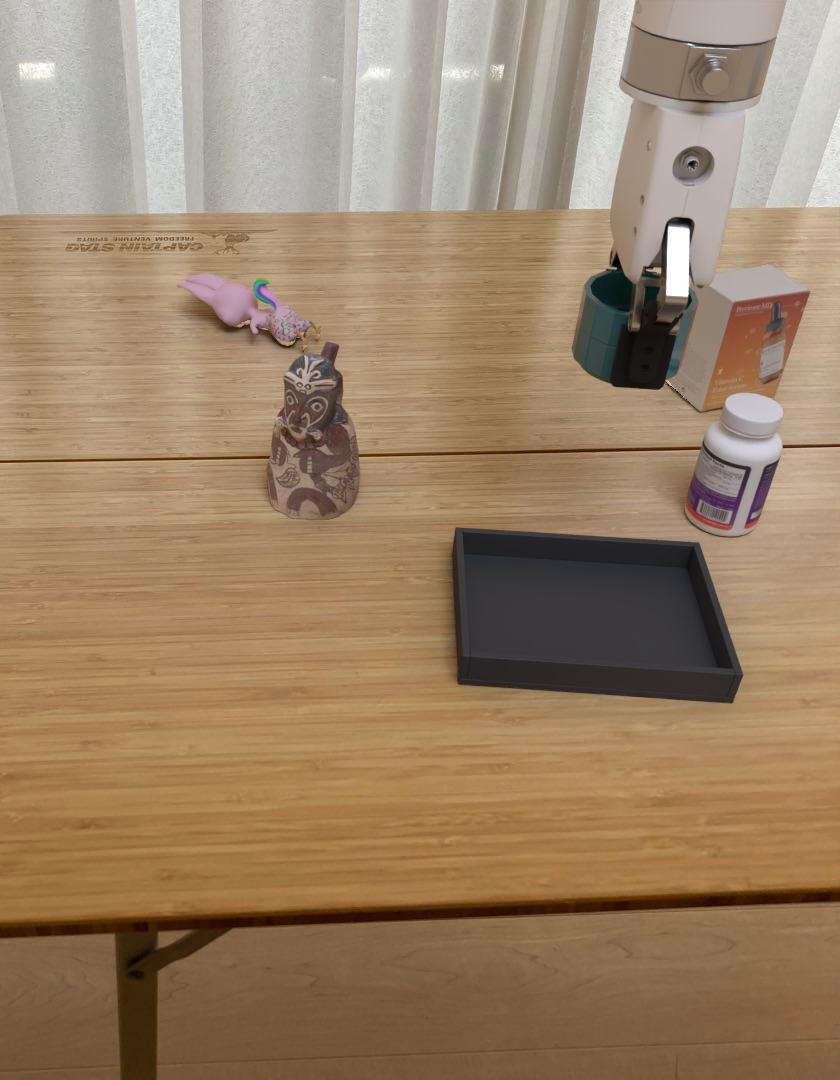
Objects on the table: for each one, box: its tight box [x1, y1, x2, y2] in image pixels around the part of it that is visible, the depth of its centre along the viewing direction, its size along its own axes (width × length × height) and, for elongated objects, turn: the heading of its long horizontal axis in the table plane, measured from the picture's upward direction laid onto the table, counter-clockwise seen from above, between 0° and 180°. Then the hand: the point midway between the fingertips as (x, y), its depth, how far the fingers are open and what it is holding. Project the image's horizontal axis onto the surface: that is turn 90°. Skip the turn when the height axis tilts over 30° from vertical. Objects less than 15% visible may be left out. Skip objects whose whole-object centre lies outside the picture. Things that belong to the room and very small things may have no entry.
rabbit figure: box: [175, 272, 322, 346], centre depth 104 cm, size 6×6×15 cm
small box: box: [668, 263, 811, 412], centre depth 95 cm, size 8×6×10 cm
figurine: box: [266, 340, 361, 521], centre depth 82 cm, size 7×7×12 cm
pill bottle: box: [684, 393, 785, 537], centre depth 81 cm, size 5×5×10 cm
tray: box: [451, 526, 744, 704], centre depth 74 cm, size 17×13×2 cm
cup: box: [571, 268, 699, 385], centre depth 70 cm, size 7×7×5 cm
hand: (627, 353), depth 71 cm, fingers closed on cup, 6 cm apart
